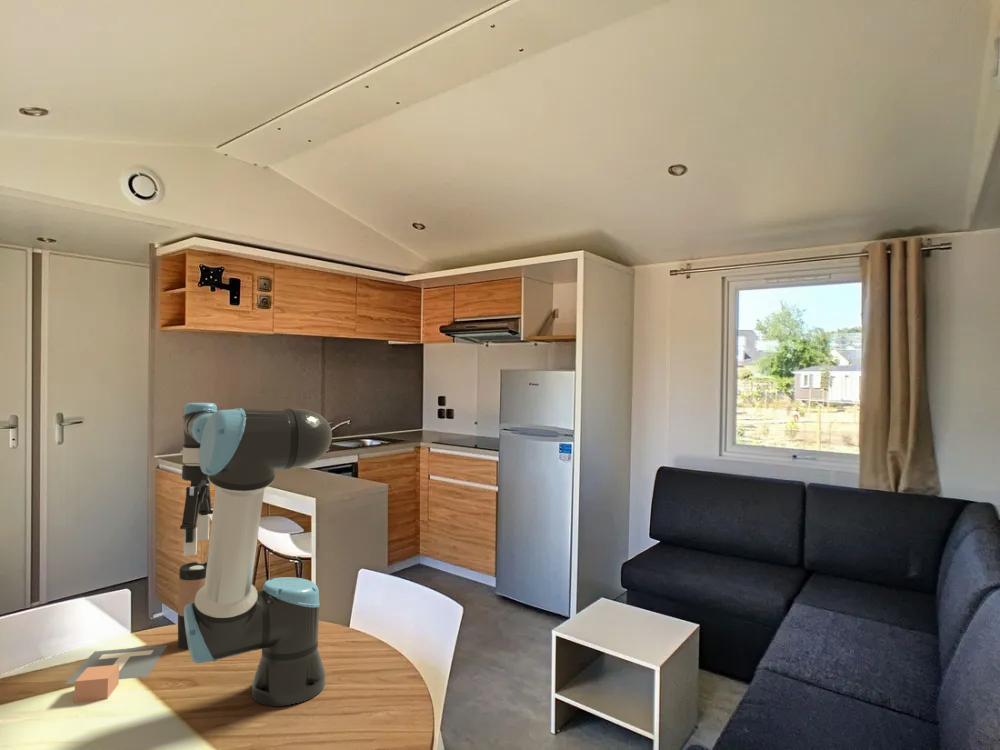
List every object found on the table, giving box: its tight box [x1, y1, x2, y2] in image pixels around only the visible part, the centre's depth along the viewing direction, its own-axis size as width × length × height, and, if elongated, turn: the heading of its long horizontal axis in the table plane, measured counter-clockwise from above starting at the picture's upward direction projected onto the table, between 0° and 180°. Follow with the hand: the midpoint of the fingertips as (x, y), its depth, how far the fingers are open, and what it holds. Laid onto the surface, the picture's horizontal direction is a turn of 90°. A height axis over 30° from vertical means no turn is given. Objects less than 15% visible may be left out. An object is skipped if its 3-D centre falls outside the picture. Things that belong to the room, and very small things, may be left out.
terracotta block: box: [73, 665, 120, 703], centre depth 123 cm, size 6×6×5 cm
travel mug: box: [177, 561, 207, 650], centre depth 147 cm, size 8×8×20 cm
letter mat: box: [64, 644, 169, 686], centre depth 136 cm, size 16×16×1 cm
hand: (196, 547), depth 147 cm, fingers open, 13 cm apart
